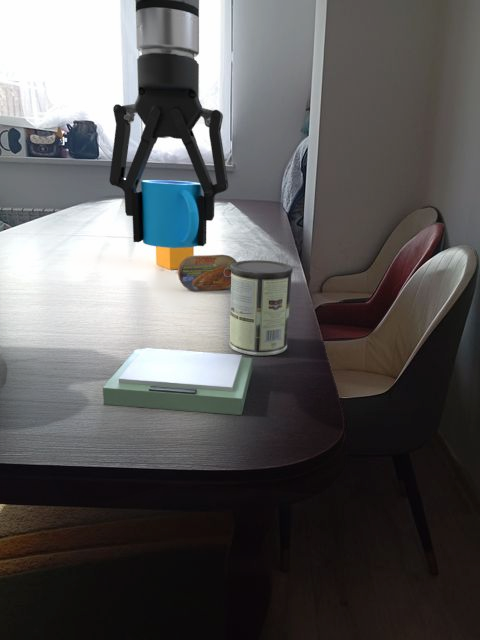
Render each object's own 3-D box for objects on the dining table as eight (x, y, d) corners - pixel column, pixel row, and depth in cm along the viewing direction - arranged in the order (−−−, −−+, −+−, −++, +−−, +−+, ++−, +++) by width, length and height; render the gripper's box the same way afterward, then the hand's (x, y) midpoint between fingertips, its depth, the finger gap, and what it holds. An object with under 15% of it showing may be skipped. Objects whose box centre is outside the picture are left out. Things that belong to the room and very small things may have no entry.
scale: (103, 404, 66) (102, 383, 65) (136, 363, 80) (135, 345, 78) (241, 415, 66) (242, 394, 65) (251, 372, 79) (252, 354, 78)
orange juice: (179, 261, 154) (179, 192, 147) (194, 267, 147) (194, 195, 140) (155, 263, 149) (153, 192, 142) (169, 270, 143) (168, 195, 136)
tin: (179, 292, 121) (179, 256, 118) (176, 288, 124) (176, 254, 121) (239, 289, 127) (241, 255, 124) (235, 286, 129) (236, 252, 126)
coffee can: (250, 332, 97) (253, 257, 92) (297, 344, 91) (304, 266, 86) (216, 346, 88) (218, 265, 83) (266, 361, 83) (271, 275, 78)
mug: (135, 239, 74) (133, 179, 71) (187, 237, 78) (187, 181, 75) (165, 254, 64) (164, 185, 61) (223, 251, 68) (225, 187, 66)
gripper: (254, 66, 66) (247, 242, 74) (94, 58, 67) (104, 234, 75) (250, 55, 59) (243, 251, 67) (72, 46, 60) (85, 242, 68)
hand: (170, 242), depth 71 cm, fingers closed on mug, 8 cm apart
